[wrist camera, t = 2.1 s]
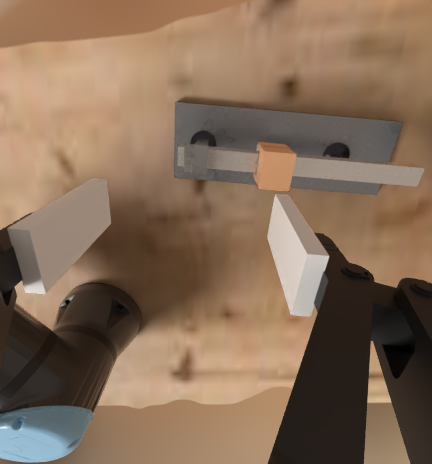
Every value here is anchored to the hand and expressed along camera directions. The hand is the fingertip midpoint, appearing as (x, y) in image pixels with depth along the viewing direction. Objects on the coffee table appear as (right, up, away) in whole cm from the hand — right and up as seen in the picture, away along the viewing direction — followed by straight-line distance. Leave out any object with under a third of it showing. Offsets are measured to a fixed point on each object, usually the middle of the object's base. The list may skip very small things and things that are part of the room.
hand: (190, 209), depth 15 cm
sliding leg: (+8, +10, +21) cm, 25 cm away
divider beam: (+11, +10, +22) cm, 26 cm away
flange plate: (+11, +10, +23) cm, 27 cm away
